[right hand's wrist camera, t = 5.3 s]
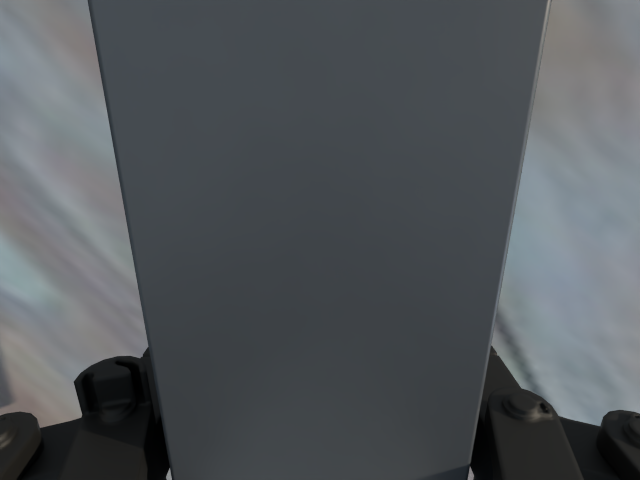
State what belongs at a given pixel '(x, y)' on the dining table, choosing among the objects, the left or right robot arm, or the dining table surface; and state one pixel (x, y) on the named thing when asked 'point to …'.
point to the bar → (319, 222)
